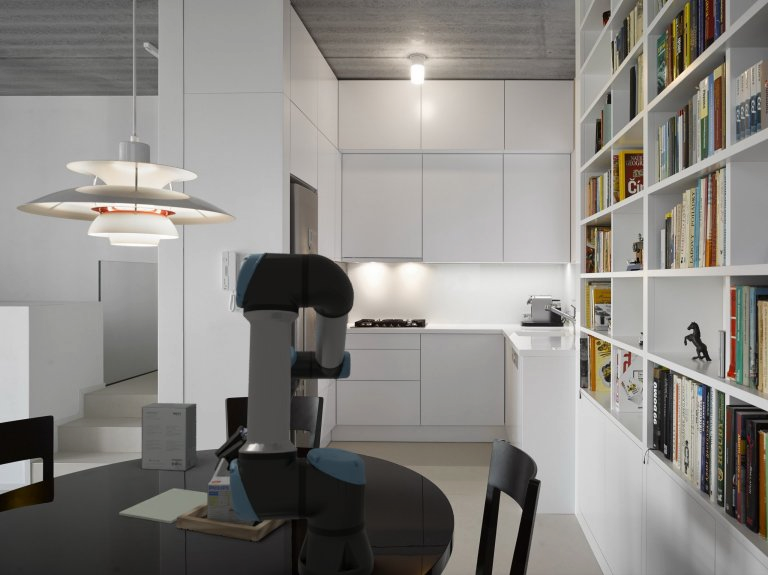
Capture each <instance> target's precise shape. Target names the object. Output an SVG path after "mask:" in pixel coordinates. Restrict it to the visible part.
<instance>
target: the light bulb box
mask: <svg viewBox="0 0 768 575" xmlns="http://www.w3.org/2000/svg"><path fill="white" fill-rule="evenodd" d="M212 478H213V477H212ZM212 478H211V480H210V481H209V482H208V484H207V491H206V493H207V515H206V516H207V517H206V519H209V520H215V521H222V522H228V523H234V524H240V525H246V526H252V527H254V524H255V522H256V521H249V520H241V519H239V518H238V517H237V516H236V515H235V512H234V509H233V506H232V500H231V492H230V476H223V477H214V478H213V479H212Z"/></svg>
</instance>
